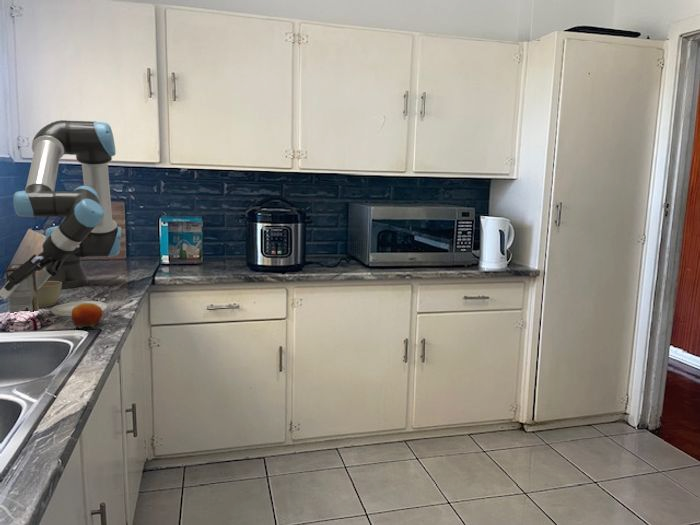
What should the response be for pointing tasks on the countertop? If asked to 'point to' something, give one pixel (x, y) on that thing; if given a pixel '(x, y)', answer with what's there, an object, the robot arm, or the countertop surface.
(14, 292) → the coffee box
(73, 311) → the fruit
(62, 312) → the plate
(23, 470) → the countertop surface
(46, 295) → the flower pot
